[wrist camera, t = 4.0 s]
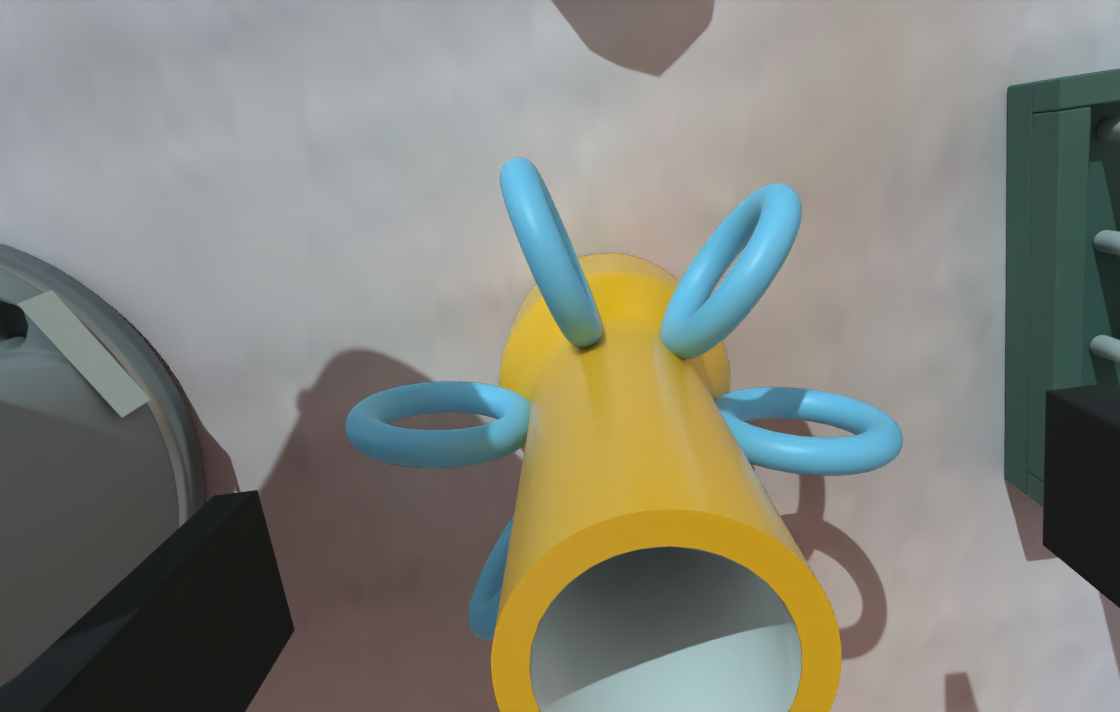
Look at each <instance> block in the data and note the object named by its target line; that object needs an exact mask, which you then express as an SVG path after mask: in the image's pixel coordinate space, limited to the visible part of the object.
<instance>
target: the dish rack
mask: <svg viewBox="0 0 1120 712" xmlns="http://www.w3.org/2000/svg"><path fill="white" fill-rule="evenodd" d="M1089 385H1097V386H1099V387H1101V388H1104V389H1106V390H1108V391H1111V392H1113V393H1115V394H1118V395H1120V69H1114V70H1107V71H1101V72H1094V73H1087V74H1081V75H1074V76H1067V77H1061V78H1055V79H1049V80H1043V81H1037V82H1031V83H1025V84H1019V85H1013V86H1009V87H1008V124H1007V268H1006V413H1005V478H1006V479H1007V480H1008V481H1009V482H1011V483H1012V484H1013V485H1015V486H1016V487H1018V488H1019V489H1020V490H1022V491H1023V492H1024V493H1026V494H1028V495H1029V496H1030V497H1031V498H1033V499H1034V500H1035V501H1037V502H1038V503H1040V504H1041V505H1042V506H1044V460H1045V406H1046V391H1049V390H1057V389H1065V388H1073V387H1081V386H1089Z"/></svg>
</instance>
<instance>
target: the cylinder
mask: <svg viewBox="0 0 1120 712" xmlns="http://www.w3.org/2000/svg"><path fill="white" fill-rule="evenodd" d="M500 185H501V190H502V194H503V198H504V201H505V205H506V208H507V211H508V214H509V217H510V219H511V222H512V225H513V228H514V230H515V233H516V236H517V238H518V241H519V243H520V246H521V248H522V251H523V253H524V256H525V258H526V260H527V263H528V265H529V267H530V270H531V272H532V274H533V276H534V279H535V281H536V283H537V284H536V285H535V286H534V288H533V289H532V290H531V291H530V293H529V294H528V295H527V297H526V298H525V300H524V301H523V303H522V305H521V307H520V309H519V311H518V313H517V315H516V318H515V320H514V323H513V326H512V329H511V331H510V334H509V337H508V339H507V342H506V345H505V348H504V351H503V355H502V360H501V365H500V374H499V386H494V385H489V384H483V383H475V382H459V381H442V382H426V383H417V384H410V385H404V386H399V387H395V388H391V389H387V390H384V391H381V392H378V393H376V394H373V395H371V396H369V397H367V398H365V399H363V400H362V401H360V402H359V403H358V404H357V405H355V406H354V407H353V409H352V410H351V411H350V413H349V414H348V417H347V419H346V424H345V430H346V435H347V437H348V439H349V441H350V443H351V444H352V445H353V446H354V447H355V448H356V449H357V450H358V451H360V452H361V453H363V454H364V455H366V456H368V457H370V458H373V459H375V460H378V461H381V462H385V463H389V464H393V465H399V466H406V467H416V468H450V467H460V466H468V465H474V464H479V463H484V462H488V461H491V460H495V459H498V458H501V457H503V456H506V455H508V454H510V453H512V452H514V451H516V450H518V449H519V448H521V449H522V451H523V452H524V457H523V463H522V469H521V475H520V482H519V488H518V494H517V500H516V506H515V512H514V515H513V517H512V518H511V520H510V521H509V523H508V524H507V526H506V527H505V529H504V531H503V532H502V534H501V536H500V537H499V539H498V541H497V543H496V544H495V546H494V548H493V550H492V552H491V554H490V556H489V558H488V559H487V561H486V564H485V566H484V568H483V570H482V572H481V574H480V577H479V579H478V581H477V584H476V586H475V589H474V592H473V595H472V598H471V602H470V606H469V613H468V620H469V625H470V628H471V630H472V632H473V633H474V634H475V635H476V636H477V637H479V638H481V639H483V640H493V644H492V653H491V674H492V683H493V688H494V693H495V697H496V700H497V704H498V707H499V709H500V712H829V711H830V709H831V707H832V704H833V702H834V699H835V696H836V692H837V688H838V684H839V679H840V672H841V656H842V654H841V640H840V634H839V629H838V625H837V621H836V618H835V615H834V612H833V609H832V607H831V604H830V602H829V600H828V598H827V596H826V594H825V592H824V590H823V589H822V587H821V585H820V584H819V582H818V580H817V578H816V577H815V575H814V573H813V571H812V570H811V568H810V566H809V565H808V563H807V561H806V559H805V558H804V556H803V554H802V552H801V551H800V549H799V547H798V546H797V544H796V542H795V540H794V539H793V537H792V535H791V534H790V532H789V530H788V528H787V527H786V525H785V523H784V521H783V520H782V518H781V516H780V515H779V513H778V511H777V509H776V508H775V506H774V504H773V502H772V501H771V499H770V497H769V496H768V494H767V492H766V490H765V489H764V487H763V485H762V483H761V482H760V480H759V478H758V477H757V475H756V473H755V471H754V470H753V468H752V466H751V464H754V465H757V466H761V467H764V468H768V469H773V470H777V471H783V472H788V473H795V474H804V475H817V476H842V475H853V474H860V473H865V472H869V471H873V470H876V469H878V468H881V467H883V466H885V465H887V464H888V463H890V462H891V461H892V460H894V459H895V458H896V456H897V455H898V454H899V452H900V450H901V447H902V443H903V437H902V433H901V430H900V428H899V426H898V424H897V423H896V422H895V421H894V420H893V419H892V418H891V417H890V416H889V415H888V414H886V413H885V412H883V411H882V410H880V409H878V408H876V407H874V406H872V405H870V404H867V403H865V402H862V401H859V400H856V399H853V398H850V397H846V396H842V395H838V394H834V393H829V392H823V391H817V390H810V389H801V388H787V387H761V388H749V389H742V390H737V391H733V392H730V367H729V361H728V356H727V352H726V349H725V346H724V343H723V341H722V340H723V339H724V338H726V337H727V336H728V335H729V334H730V333H731V332H732V331H733V330H734V329H735V328H736V327H737V326H738V325H739V324H740V322H741V321H742V320H743V319H744V318H745V317H746V316H747V315H748V313H749V312H750V311H751V310H752V308H753V307H754V306H755V305H756V303H757V302H758V301H759V300H760V298H761V297H762V295H763V294H764V293H765V291H766V290H767V288H768V287H769V286H770V284H771V283H772V281H773V280H774V278H775V276H776V275H777V273H778V272H779V270H780V268H781V266H782V265H783V263H784V261H785V259H786V257H787V256H788V254H789V252H790V249H791V247H792V245H793V243H794V241H795V238H796V235H797V233H798V229H799V226H800V222H801V216H802V205H801V201H800V198H799V196H798V194H797V193H796V191H795V190H794V189H792V188H791V187H789V186H787V185H785V184H779V183H775V184H770V185H766V186H764V187H762V188H760V189H758V190H757V191H755V192H753V193H752V194H751V195H749V196H748V197H747V198H746V199H745V200H743V201H742V202H741V203H740V204H739V205H738V206H737V207H736V208H735V209H734V210H733V211H732V212H731V213H730V214H729V215H728V216H727V217H726V219H725V220H724V221H723V222H722V223H721V224H720V225H719V227H718V228H717V229H716V230H715V231H714V233H713V234H712V235H711V236H710V238H709V239H708V240H707V242H706V243H705V244H704V246H703V247H702V248H701V250H700V251H699V253H698V254H697V256H696V257H695V258H694V260H693V261H692V263H691V264H690V266H689V268H688V269H687V271H686V272H685V274H684V276H683V277H682V279H681V281H680V282H679V281H678V280H677V279H676V278H675V277H674V276H673V275H671V274H670V273H669V272H667V271H666V270H665V269H663V268H661V267H659V266H658V265H656V264H654V263H652V262H649V261H647V260H645V259H642V258H638V257H635V256H631V255H626V254H617V253H601V254H593V255H588V256H584V257H580V258H577V256H576V253H575V251H574V248H573V246H572V244H571V241H570V239H569V237H568V234H567V232H566V230H565V227H564V225H563V223H562V220H561V218H560V216H559V213H558V211H557V209H556V207H555V205H554V202H553V200H552V198H551V196H550V194H549V191H548V189H547V187H546V185H545V183H544V181H543V179H542V177H541V175H540V173H539V172H538V170H537V168H536V167H535V165H534V164H533V163H532V162H531V161H529V160H527V159H525V158H513V159H511V160H509V161H508V162H506V163H505V165H504V166H503V168H502V170H501V173H500ZM745 246H746V247H745ZM744 247H745V248H744ZM743 249H744V250H743ZM742 250H743V252H742V253H741V255H740V257H739V258H738V260H737V261H736V263H735V264H734V266H733V267H732V269H731V270H730V271H729V273H728V274H727V276H726V277H725V278H724V280H723V281H722V282H721V284H720V285H719V286H718V287H717V289H716V290H715V291H714V292H713V294H712V295H711V296H710V294H711V293H712V291H713V289H714V288H715V286H716V285H717V283H718V281H719V280H720V278H721V277H722V275H723V274H724V273H725V271H726V270H727V268H728V267H729V266H730V264H731V263H732V262H733V261H734V259H735V258H736V257H737V256H738V254H739V253H740V252H741V251H742ZM709 296H710V297H709ZM443 412H459V413H472V414H479V415H484V416H489V417H492V418H495V419H498V420H496V421H493V422H490V423H487V424H483V425H479V426H474V427H468V428H460V429H449V430H419V429H408V428H402V427H397V426H393V425H389V424H388V423H391V422H393V421H396V420H399V419H402V418H406V417H410V416H415V415H421V414H429V413H443ZM766 418H783V419H797V420H805V421H812V422H817V423H822V424H826V425H830V426H834V427H837V428H840V429H843V430H846V431H849V432H851V433H853V434H855V435H854V436H846V437H807V436H798V435H790V434H784V433H779V432H774V431H770V430H766V429H762V428H759V427H756V426H753V425H750V424H748V423H746V422H744V421H749V420H755V419H766ZM750 463H751V464H750Z"/></svg>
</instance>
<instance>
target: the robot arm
mask: <svg viewBox="0 0 1120 712" xmlns="http://www.w3.org/2000/svg"><path fill="white" fill-rule="evenodd" d="M1043 545H1044V546H1045V547H1046V548H1048V549H1049V550H1050V551H1051V552H1052V553H1054V554H1055V555H1056V556H1057V557H1058V558H1060V559H1061V560H1062V561H1063V562H1065V563H1066V564H1067V565H1068V566H1069V567H1071V568H1072V569H1073V570H1074V571H1075V572H1077V573H1078V574H1079V575H1080V576H1081V577H1083V578H1084V579H1085V580H1086V581H1088V582H1089V583H1090V584H1091V585H1092V586H1094V587H1095V588H1096V589H1097V590H1098V591H1100V592H1101V593H1102V594H1103V595H1105V596H1106V597H1107V598H1108V599H1109V600H1111V601H1112V602H1113V603H1114V604H1115V605H1117V606H1118V607H1119V608H1120V395H1118V394H1115V393H1113V392H1111V391H1108V390H1106V389H1104V388H1101V387H1099V386H1097V385H1089V386H1081V387H1073V388H1065V389H1057V390H1049V391H1046V406H1045V460H1044V513H1043ZM293 632H294V626H293V622H292V619H291V615H290V611H289V607H288V604H287V600H286V596H285V592H284V588H283V585H282V581H281V577H280V573H279V570H278V566H277V562H276V558H275V555H274V551H273V547H272V543H271V540H270V536H269V532H268V528H267V525H266V521H265V517H264V513H263V509H262V506H261V502H260V498H259V494H258V491H257V490H255V491H247V492H239V493H231V494H224V495H216V496H213V497H212V498H211V499H210V500H209V501H208V502H207V503H206V504H205V480H204V472H203V465H202V458H201V454H200V449H199V445H198V441H197V437H196V434H195V431H194V428H193V425H192V422H191V419H190V416H189V414H188V411H187V409H186V407H185V405H184V402H183V400H182V398H181V396H180V394H179V392H178V390H177V388H176V386H175V385H174V383H173V381H172V379H171V378H170V376H169V374H168V372H167V371H166V369H165V368H164V366H163V365H162V364H161V362H160V361H159V359H158V358H157V356H156V355H155V353H154V352H153V351H152V349H151V348H150V347H149V346H148V345H147V343H146V342H145V341H144V340H143V338H142V337H141V336H140V335H139V334H138V332H137V331H136V330H135V329H134V328H133V327H132V326H131V325H130V324H129V323H128V322H127V321H126V320H125V319H124V318H123V317H122V316H121V315H120V314H119V313H118V312H117V311H116V310H114V309H113V308H112V307H111V306H110V305H109V304H108V303H106V302H105V301H104V300H103V299H102V298H101V297H99V296H98V295H97V294H95V293H94V292H93V291H91V290H90V289H88V288H87V287H86V286H84V285H83V284H82V283H80V282H79V281H77V280H76V279H74V278H72V277H71V276H69V275H68V274H66V273H64V272H63V271H61V270H59V269H58V268H56V267H54V266H52V265H50V264H48V263H46V262H44V261H42V260H40V259H38V258H36V257H34V256H32V255H29V254H27V253H24V252H22V251H19V250H17V249H14V248H12V247H9V246H6V245H3V244H0V712H245V711H246V709H247V708H248V706H249V704H250V703H251V701H252V699H253V698H254V696H255V694H256V693H257V691H258V689H259V688H260V686H261V685H262V683H263V681H264V680H265V678H266V676H267V675H268V673H269V671H270V670H271V668H272V666H273V665H274V663H275V661H276V660H277V658H278V657H279V655H280V653H281V652H282V650H283V648H284V647H285V645H286V643H287V642H288V640H289V638H290V637H291V635H292V633H293Z"/></svg>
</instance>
